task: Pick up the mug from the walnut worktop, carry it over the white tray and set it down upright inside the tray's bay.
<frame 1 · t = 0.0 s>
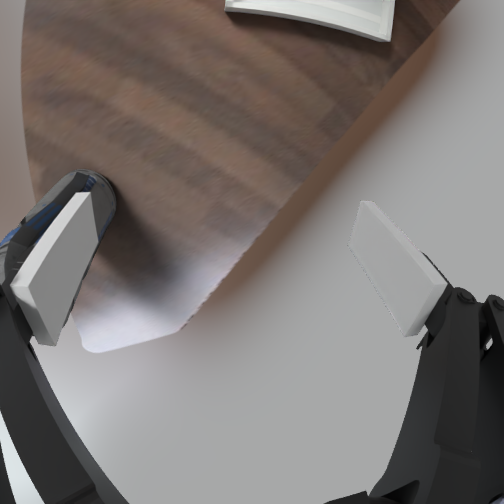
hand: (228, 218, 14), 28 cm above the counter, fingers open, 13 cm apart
grey blue grenade canister: (89, 192, 40), on the counter
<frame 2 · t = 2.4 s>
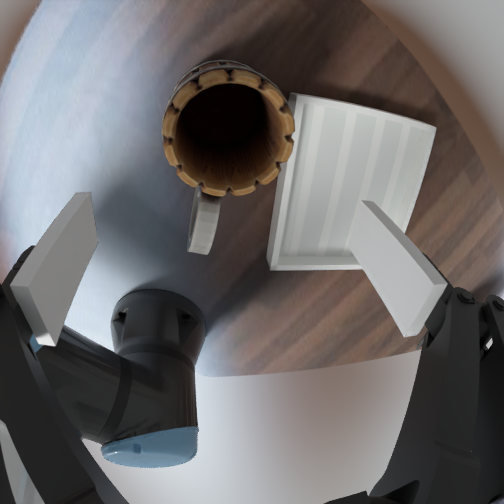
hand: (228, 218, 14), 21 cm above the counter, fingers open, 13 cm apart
white tray: (347, 187, 37), on the counter
mug: (214, 128, 31), on the counter
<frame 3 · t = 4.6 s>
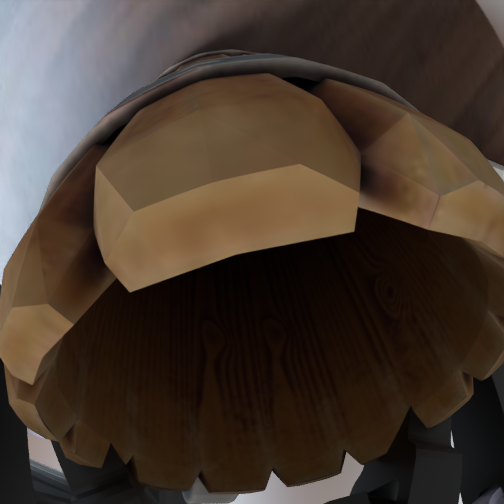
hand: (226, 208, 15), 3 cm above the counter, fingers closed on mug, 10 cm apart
mug: (215, 185, 17), on the counter, touching gripper
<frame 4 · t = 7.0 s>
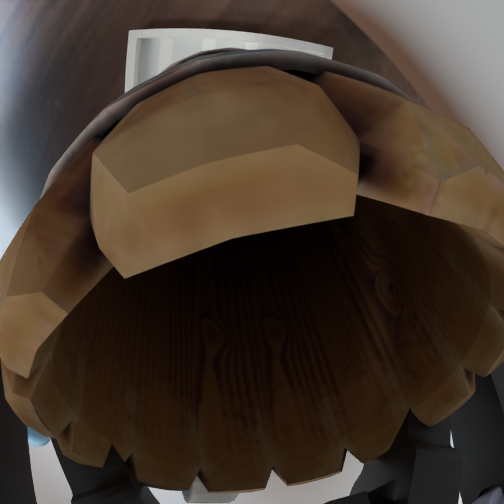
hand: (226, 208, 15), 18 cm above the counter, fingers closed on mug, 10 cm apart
white tray: (220, 134, 30), on the counter
mug: (214, 183, 17), point 15 cm above the counter, touching gripper
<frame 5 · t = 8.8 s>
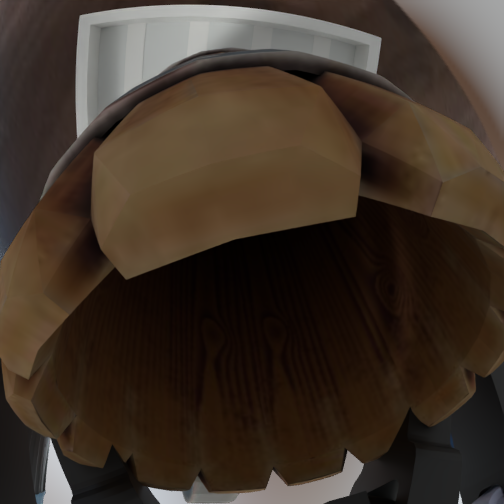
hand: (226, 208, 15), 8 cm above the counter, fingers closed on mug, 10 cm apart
white tray: (218, 161, 21), on the counter
mug: (215, 183, 17), point 5 cm above the counter, touching gripper
when the fingers open (6 cm above the counter, at t = 9.8 s): mug drops 2 cm, resting on white tray.
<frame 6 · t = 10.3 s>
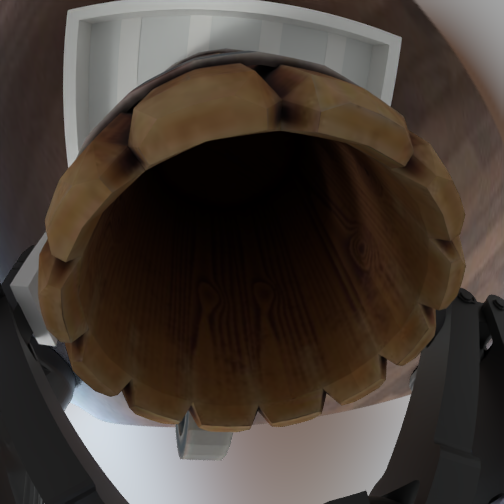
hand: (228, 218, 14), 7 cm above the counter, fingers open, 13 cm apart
white tray: (221, 170, 19), on the counter
mug: (213, 172, 19), point 1 cm above the counter, touching white tray
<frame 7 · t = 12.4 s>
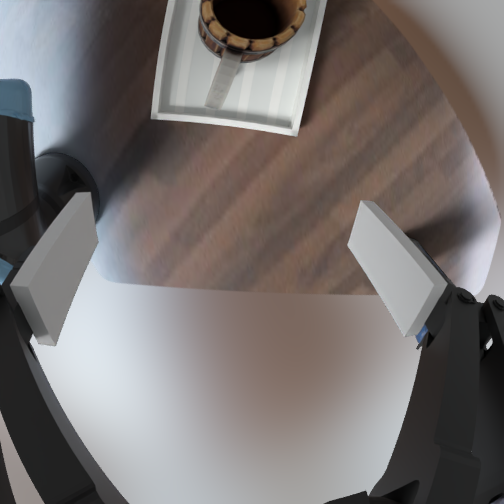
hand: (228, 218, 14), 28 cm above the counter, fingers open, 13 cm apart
white tray: (237, 44, 32), on the counter
mug: (234, 42, 31), point 1 cm above the counter, touching white tray
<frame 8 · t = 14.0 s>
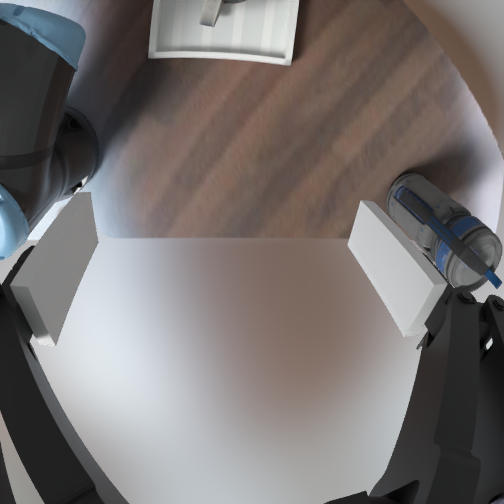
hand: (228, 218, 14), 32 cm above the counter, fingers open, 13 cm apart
grey blue grenade canister: (402, 192, 51), on the counter
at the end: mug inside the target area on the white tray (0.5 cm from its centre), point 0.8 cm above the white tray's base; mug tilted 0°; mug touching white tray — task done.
